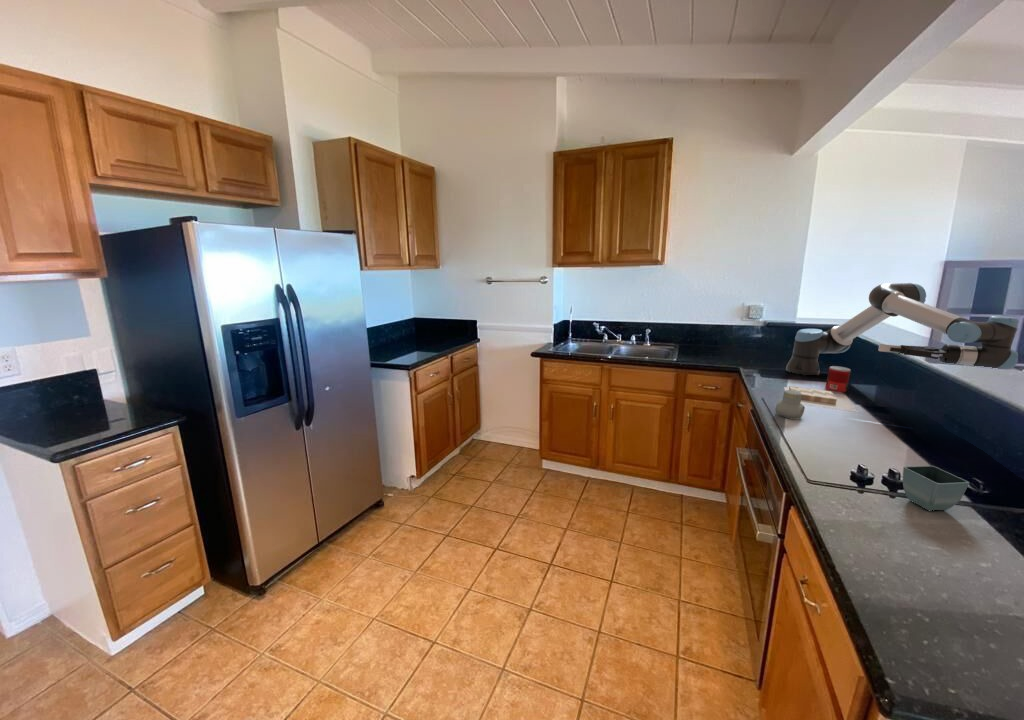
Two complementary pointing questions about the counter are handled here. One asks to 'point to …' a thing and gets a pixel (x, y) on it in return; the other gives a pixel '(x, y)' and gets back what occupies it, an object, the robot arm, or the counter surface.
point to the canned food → (838, 378)
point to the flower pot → (933, 487)
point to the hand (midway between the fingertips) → (879, 347)
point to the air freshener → (790, 405)
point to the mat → (841, 404)
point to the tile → (815, 395)
